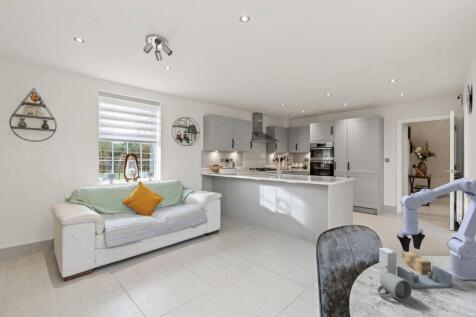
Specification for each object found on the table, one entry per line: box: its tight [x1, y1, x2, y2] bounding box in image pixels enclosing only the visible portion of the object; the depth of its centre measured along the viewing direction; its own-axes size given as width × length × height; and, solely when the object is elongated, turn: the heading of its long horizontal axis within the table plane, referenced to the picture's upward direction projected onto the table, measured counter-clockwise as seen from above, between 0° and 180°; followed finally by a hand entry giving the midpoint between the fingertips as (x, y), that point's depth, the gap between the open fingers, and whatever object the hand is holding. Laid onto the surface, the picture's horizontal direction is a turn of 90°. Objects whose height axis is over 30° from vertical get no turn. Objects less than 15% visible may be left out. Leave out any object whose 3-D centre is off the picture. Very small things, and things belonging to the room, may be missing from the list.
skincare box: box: [378, 247, 398, 276], centre depth 103 cm, size 6×4×12 cm
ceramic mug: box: [376, 273, 413, 302], centre depth 89 cm, size 11×8×8 cm
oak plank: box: [401, 250, 432, 275], centre depth 110 cm, size 12×4×6 cm, turn 179°
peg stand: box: [396, 265, 453, 289], centre depth 98 cm, size 17×8×5 cm, turn 89°
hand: (411, 250), depth 108 cm, fingers open, 7 cm apart
